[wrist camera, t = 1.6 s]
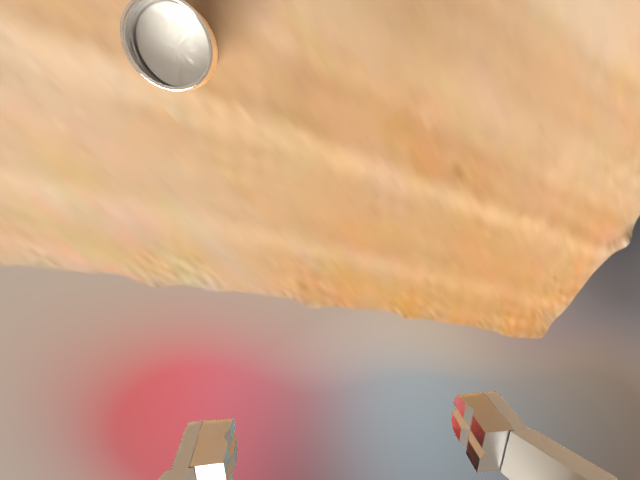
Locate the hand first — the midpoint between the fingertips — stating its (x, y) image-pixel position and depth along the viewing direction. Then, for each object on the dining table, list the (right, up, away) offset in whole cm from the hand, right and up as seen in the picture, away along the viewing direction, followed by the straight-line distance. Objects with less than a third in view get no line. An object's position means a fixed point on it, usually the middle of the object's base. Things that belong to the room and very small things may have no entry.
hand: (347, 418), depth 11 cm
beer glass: (-16, +29, +25) cm, 42 cm away
